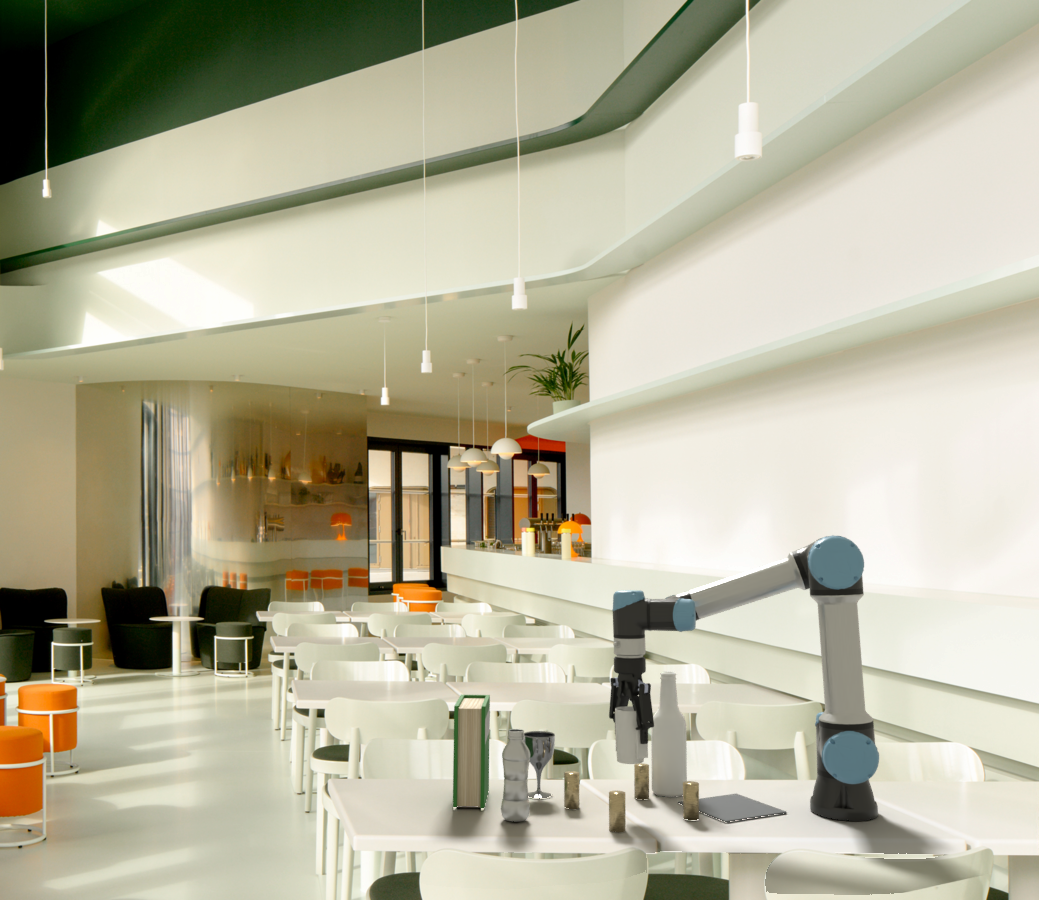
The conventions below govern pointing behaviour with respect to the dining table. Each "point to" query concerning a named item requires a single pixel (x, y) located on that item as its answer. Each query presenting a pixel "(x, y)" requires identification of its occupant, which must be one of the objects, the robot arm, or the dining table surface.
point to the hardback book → (471, 750)
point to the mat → (735, 807)
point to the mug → (626, 735)
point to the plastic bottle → (515, 777)
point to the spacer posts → (641, 792)
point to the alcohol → (668, 742)
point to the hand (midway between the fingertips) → (631, 754)
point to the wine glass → (539, 755)
